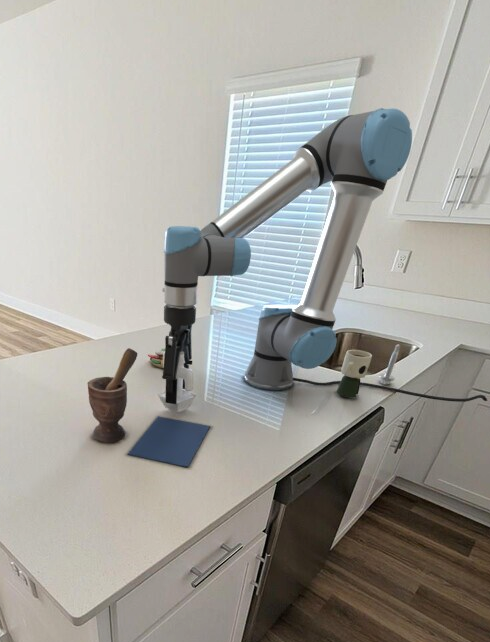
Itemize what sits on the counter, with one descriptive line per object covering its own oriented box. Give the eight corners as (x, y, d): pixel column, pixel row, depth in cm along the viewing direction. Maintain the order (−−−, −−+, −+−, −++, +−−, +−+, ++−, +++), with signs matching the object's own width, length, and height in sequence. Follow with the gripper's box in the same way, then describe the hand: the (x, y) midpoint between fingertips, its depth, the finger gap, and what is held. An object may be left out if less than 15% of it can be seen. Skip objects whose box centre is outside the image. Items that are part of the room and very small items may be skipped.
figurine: (180, 417, 104) (182, 360, 95) (154, 406, 109) (154, 350, 100) (198, 409, 108) (202, 353, 99) (172, 398, 113) (174, 344, 104)
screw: (378, 385, 132) (375, 379, 136) (393, 387, 131) (390, 381, 135) (392, 345, 125) (389, 341, 128) (409, 347, 124) (405, 342, 128)
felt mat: (209, 427, 103) (209, 426, 102) (187, 467, 87) (187, 466, 87) (158, 417, 106) (158, 416, 105) (127, 454, 90) (127, 453, 90)
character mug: (349, 404, 119) (363, 360, 111) (327, 396, 122) (339, 353, 115) (365, 394, 125) (379, 352, 118) (343, 387, 129) (355, 346, 121)
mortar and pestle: (116, 419, 104) (112, 340, 92) (142, 429, 100) (142, 348, 88) (84, 436, 96) (76, 353, 84) (112, 448, 92) (107, 362, 80)
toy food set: (173, 373, 132) (173, 363, 130) (140, 364, 137) (140, 355, 136) (193, 362, 142) (194, 353, 140) (162, 354, 147) (162, 345, 145)
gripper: (179, 294, 103) (176, 378, 116) (147, 314, 85) (148, 410, 99) (207, 297, 101) (201, 382, 114) (181, 317, 84) (177, 415, 97)
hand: (177, 395), depth 106 cm, fingers closed on figurine, 9 cm apart
